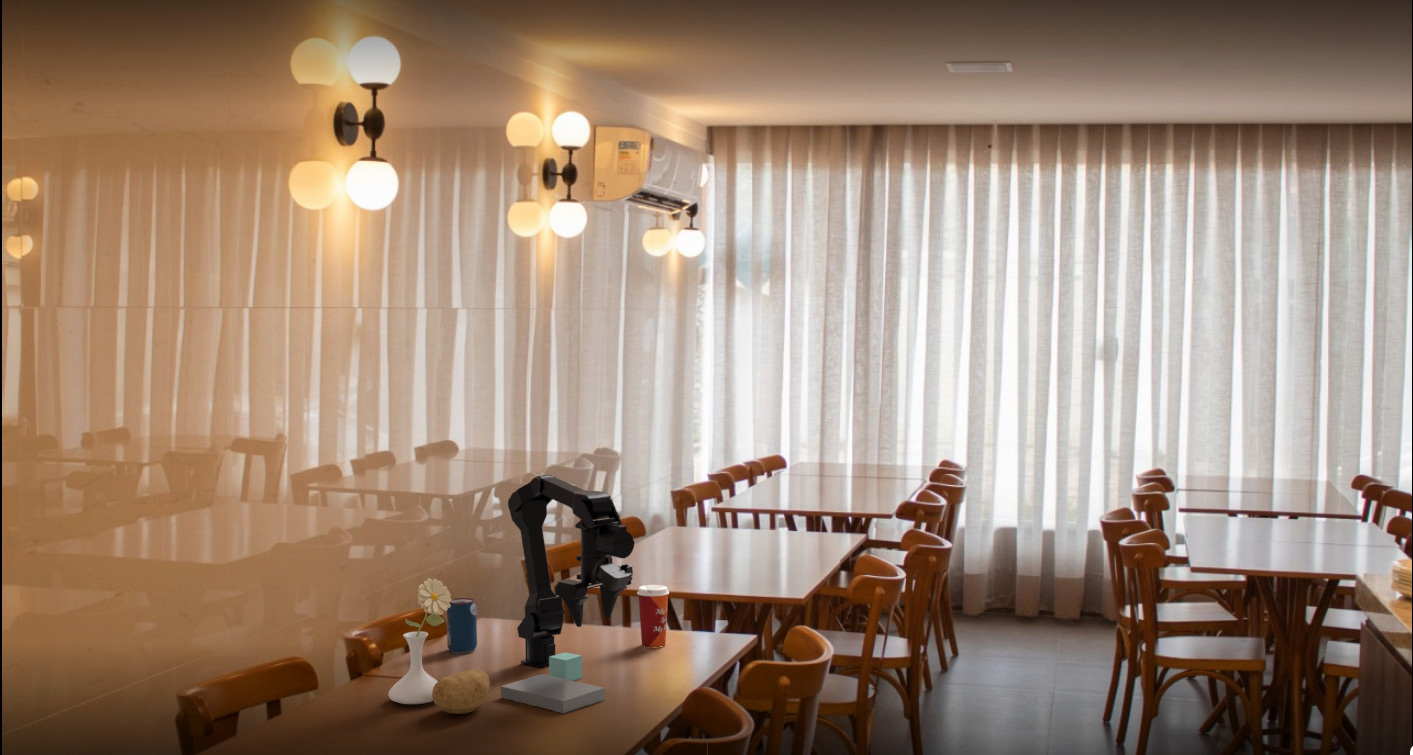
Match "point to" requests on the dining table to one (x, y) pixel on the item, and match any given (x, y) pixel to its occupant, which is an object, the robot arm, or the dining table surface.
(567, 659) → the teal cube
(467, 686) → the potato
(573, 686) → the slate board
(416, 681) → the flower in vase
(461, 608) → the soda can
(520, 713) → the dining table surface
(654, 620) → the paper cup
